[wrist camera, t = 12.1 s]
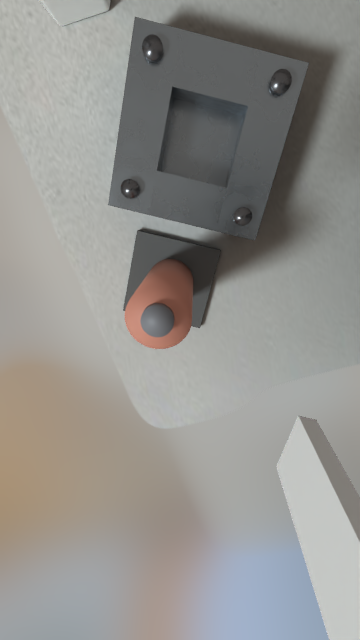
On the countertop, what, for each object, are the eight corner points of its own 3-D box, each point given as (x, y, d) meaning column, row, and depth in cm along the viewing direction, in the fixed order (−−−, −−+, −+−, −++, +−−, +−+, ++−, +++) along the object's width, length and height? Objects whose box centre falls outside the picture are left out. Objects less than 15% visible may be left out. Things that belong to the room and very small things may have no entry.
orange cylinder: (198, 264, 34) (199, 297, 22) (187, 308, 36) (182, 360, 24) (152, 253, 34) (129, 280, 22) (143, 297, 36) (117, 344, 24)
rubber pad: (220, 250, 34) (220, 250, 33) (199, 326, 37) (199, 328, 36) (138, 230, 34) (137, 230, 33) (124, 308, 37) (123, 310, 36)
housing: (293, 81, 29) (311, 59, 24) (248, 236, 33) (256, 241, 29) (142, 42, 28) (133, 12, 24) (118, 205, 33) (106, 205, 29)
